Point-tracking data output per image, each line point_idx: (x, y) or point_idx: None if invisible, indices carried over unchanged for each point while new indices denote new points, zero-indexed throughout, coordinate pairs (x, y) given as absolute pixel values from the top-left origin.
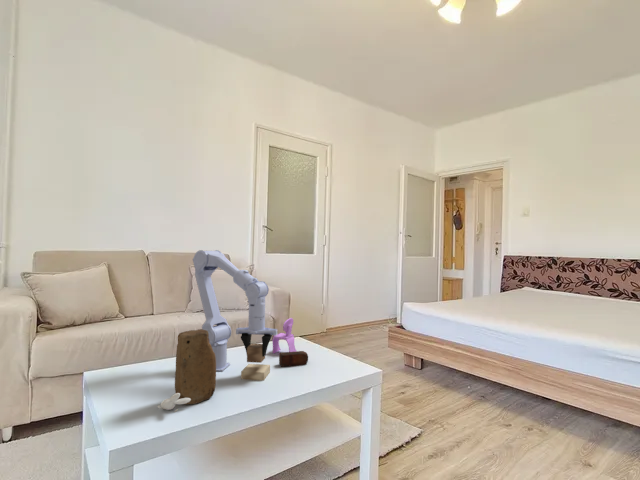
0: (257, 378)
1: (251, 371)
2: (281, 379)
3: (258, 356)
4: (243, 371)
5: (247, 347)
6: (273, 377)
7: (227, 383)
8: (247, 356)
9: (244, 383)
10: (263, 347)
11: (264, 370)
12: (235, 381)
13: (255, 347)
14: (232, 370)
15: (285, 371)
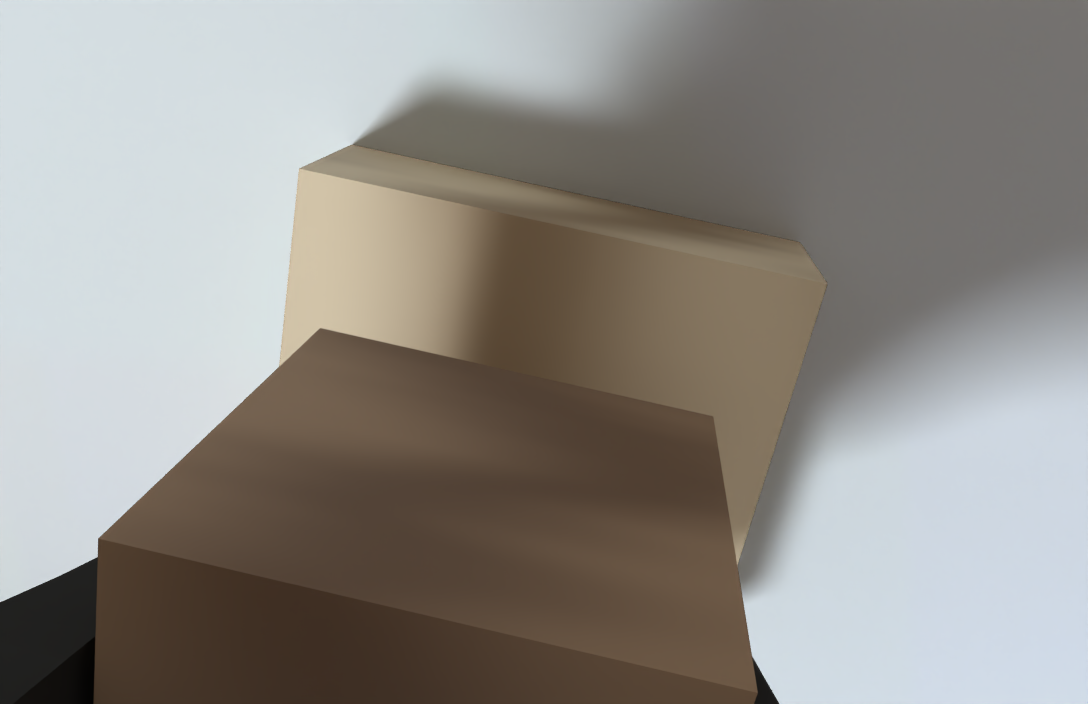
0: (472, 177)
1: (589, 265)
2: (43, 170)
3: (340, 407)
4: (773, 278)
5: (739, 692)
6: (203, 280)
7: (1080, 27)
8: (709, 488)
9: (718, 5)
10: (47, 638)
11: (311, 297)
12: (910, 130)
13: (370, 642)
14: (979, 678)
15: (55, 531)
